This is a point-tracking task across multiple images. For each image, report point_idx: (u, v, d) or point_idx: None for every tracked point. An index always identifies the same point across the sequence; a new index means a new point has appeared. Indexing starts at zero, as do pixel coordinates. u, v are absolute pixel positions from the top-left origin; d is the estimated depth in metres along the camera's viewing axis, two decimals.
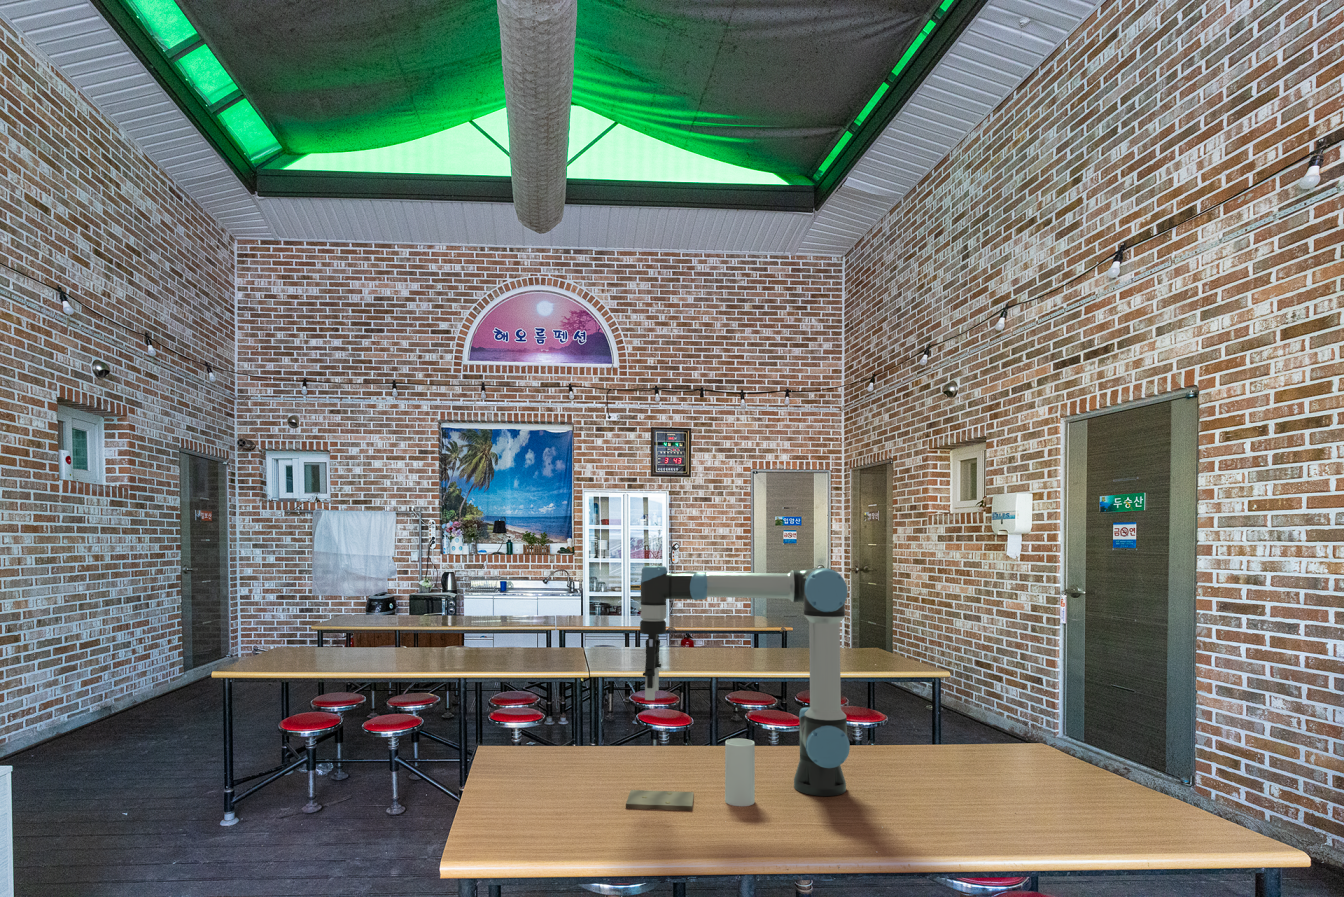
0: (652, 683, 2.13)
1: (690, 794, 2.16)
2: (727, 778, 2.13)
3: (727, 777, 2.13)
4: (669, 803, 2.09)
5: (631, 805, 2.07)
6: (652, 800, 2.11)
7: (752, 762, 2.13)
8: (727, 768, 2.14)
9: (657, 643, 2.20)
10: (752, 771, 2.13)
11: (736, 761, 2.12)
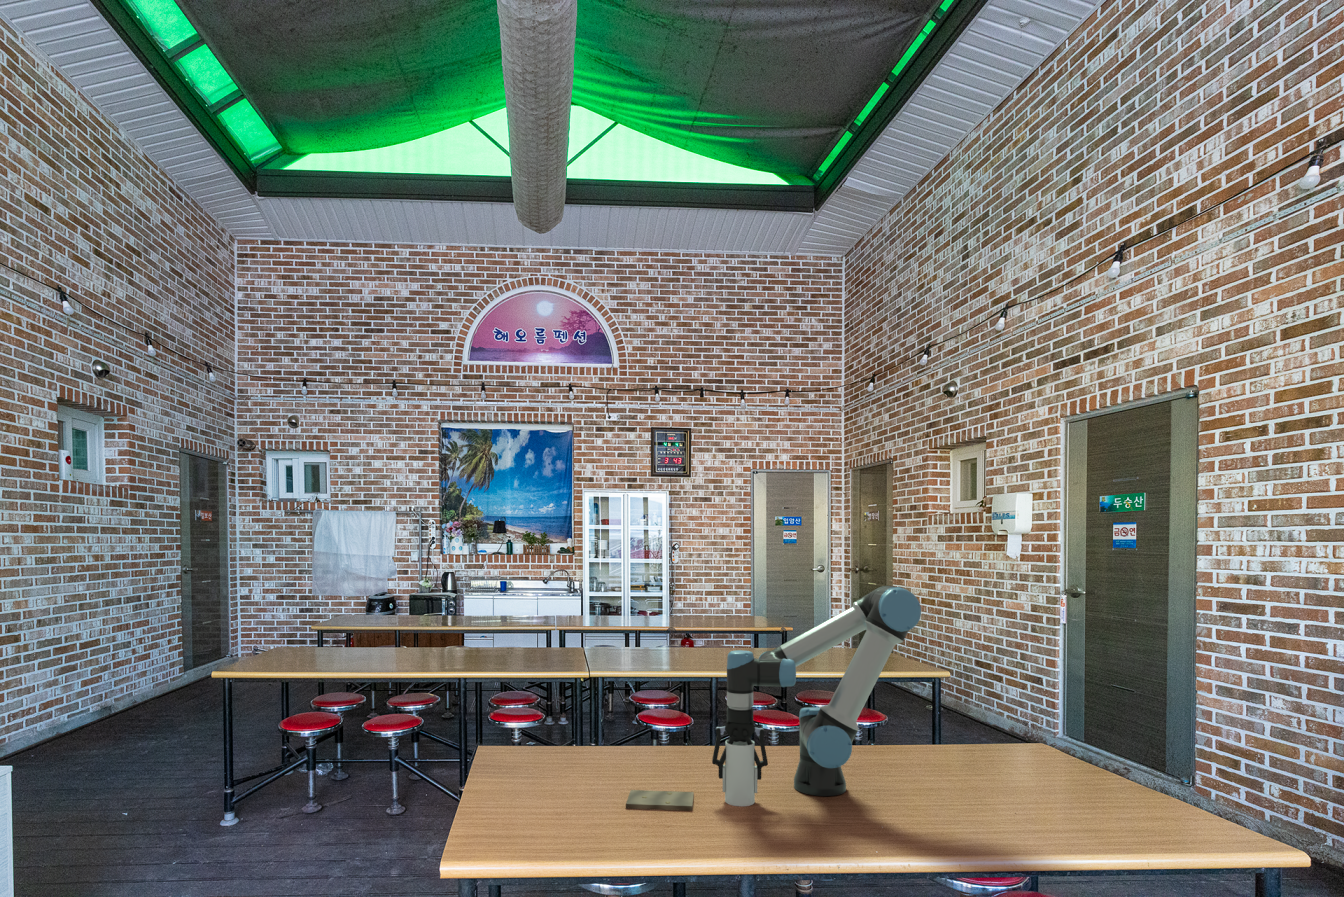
0: (720, 774, 2.15)
1: (690, 794, 2.16)
2: (727, 778, 2.13)
3: (727, 777, 2.13)
4: (669, 803, 2.09)
5: (631, 805, 2.07)
6: (652, 800, 2.11)
7: (752, 762, 2.13)
8: (727, 768, 2.14)
9: (732, 732, 2.15)
10: (752, 771, 2.13)
11: (736, 761, 2.12)
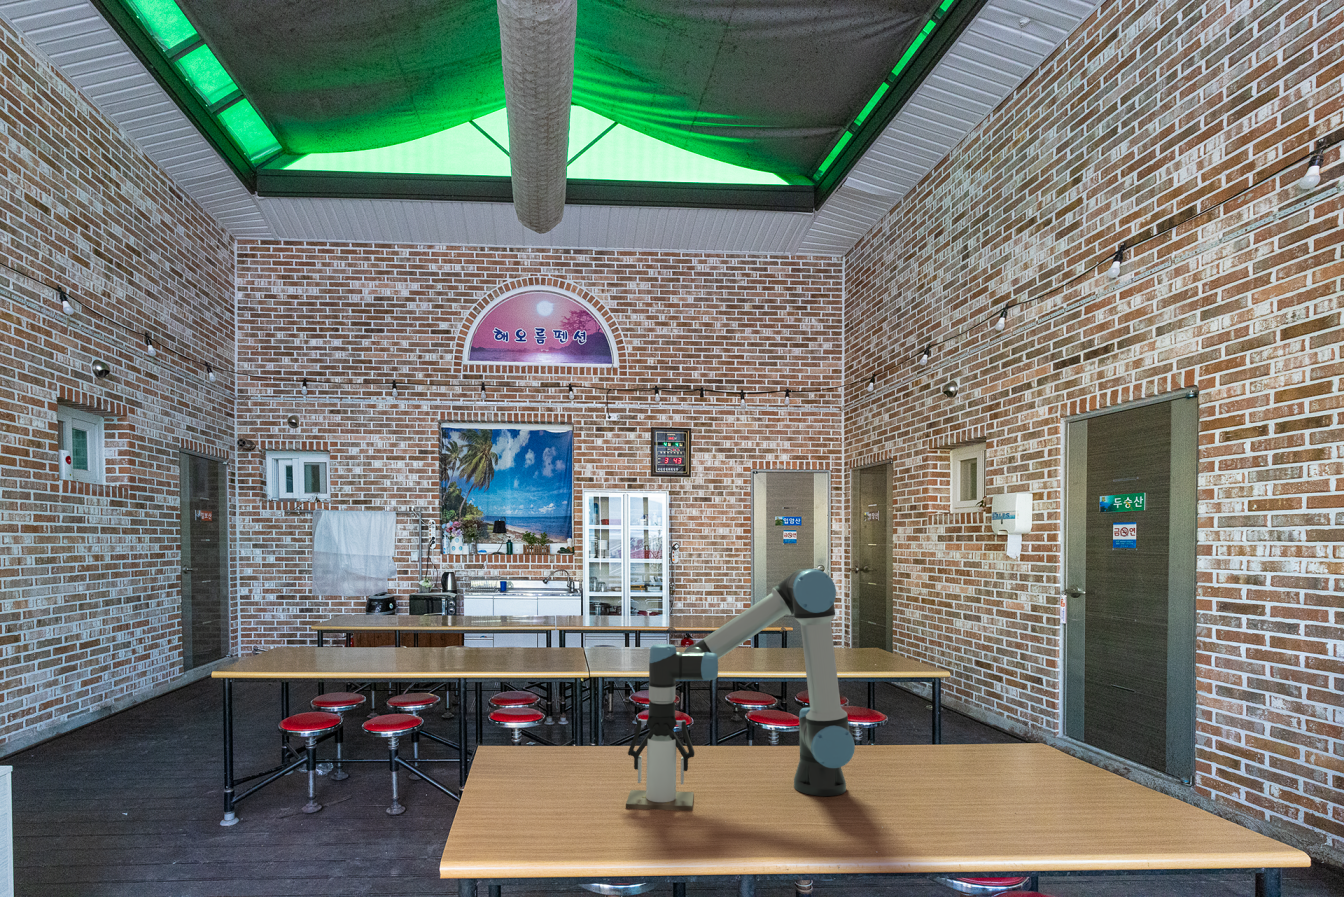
0: (636, 765, 2.14)
1: (690, 794, 2.16)
2: (648, 774, 2.12)
3: (648, 773, 2.12)
4: (669, 803, 2.09)
5: (631, 805, 2.07)
6: None
7: (673, 758, 2.12)
8: (648, 764, 2.12)
9: (653, 726, 2.14)
10: (673, 767, 2.12)
11: (656, 757, 2.10)
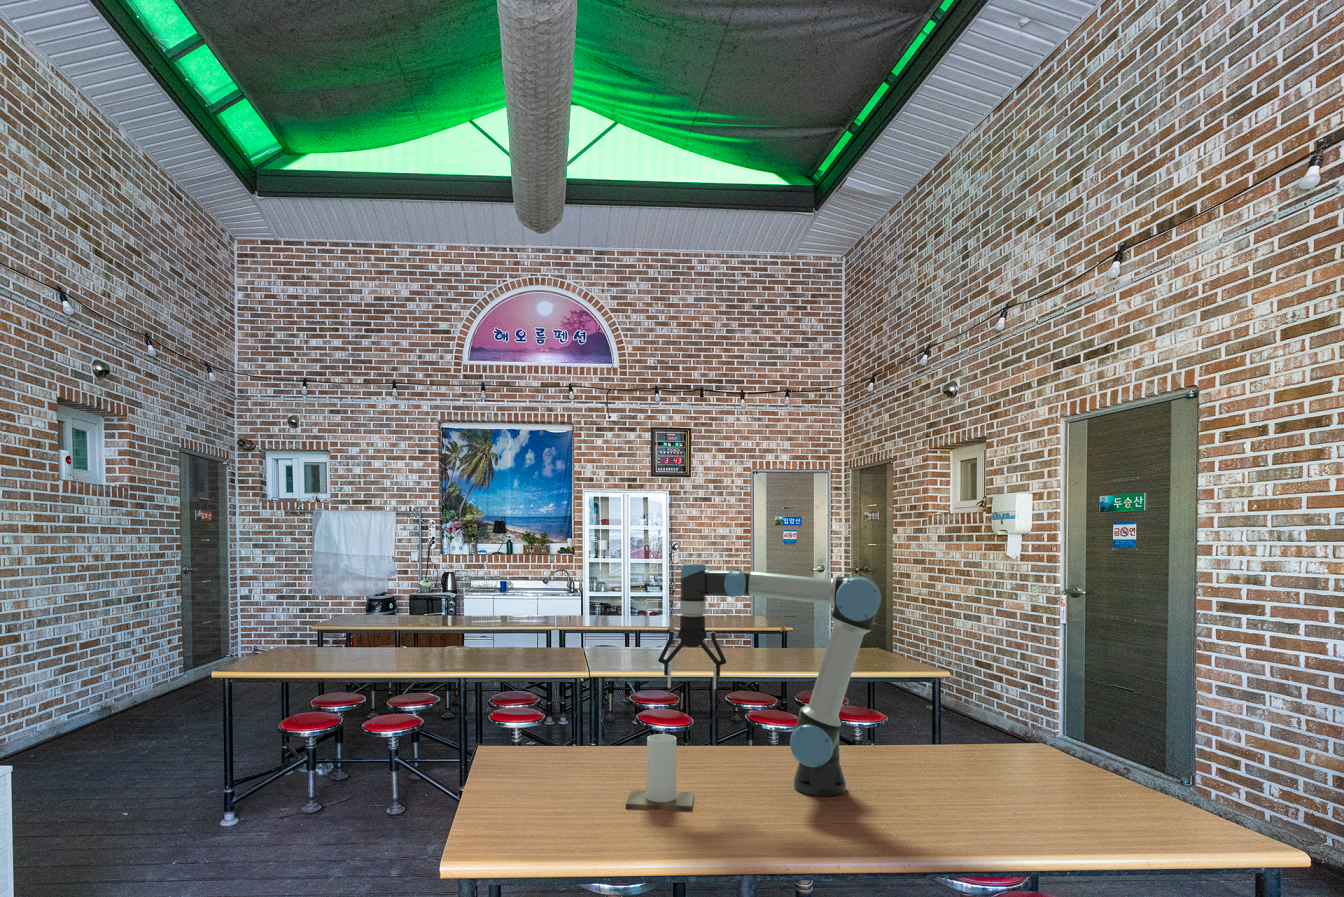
0: (666, 671, 2.29)
1: (690, 794, 2.16)
2: (648, 774, 2.12)
3: (648, 773, 2.12)
4: (669, 803, 2.09)
5: (631, 805, 2.07)
6: None
7: (673, 758, 2.12)
8: (648, 764, 2.12)
9: (685, 637, 2.29)
10: (673, 767, 2.12)
11: (656, 757, 2.10)
